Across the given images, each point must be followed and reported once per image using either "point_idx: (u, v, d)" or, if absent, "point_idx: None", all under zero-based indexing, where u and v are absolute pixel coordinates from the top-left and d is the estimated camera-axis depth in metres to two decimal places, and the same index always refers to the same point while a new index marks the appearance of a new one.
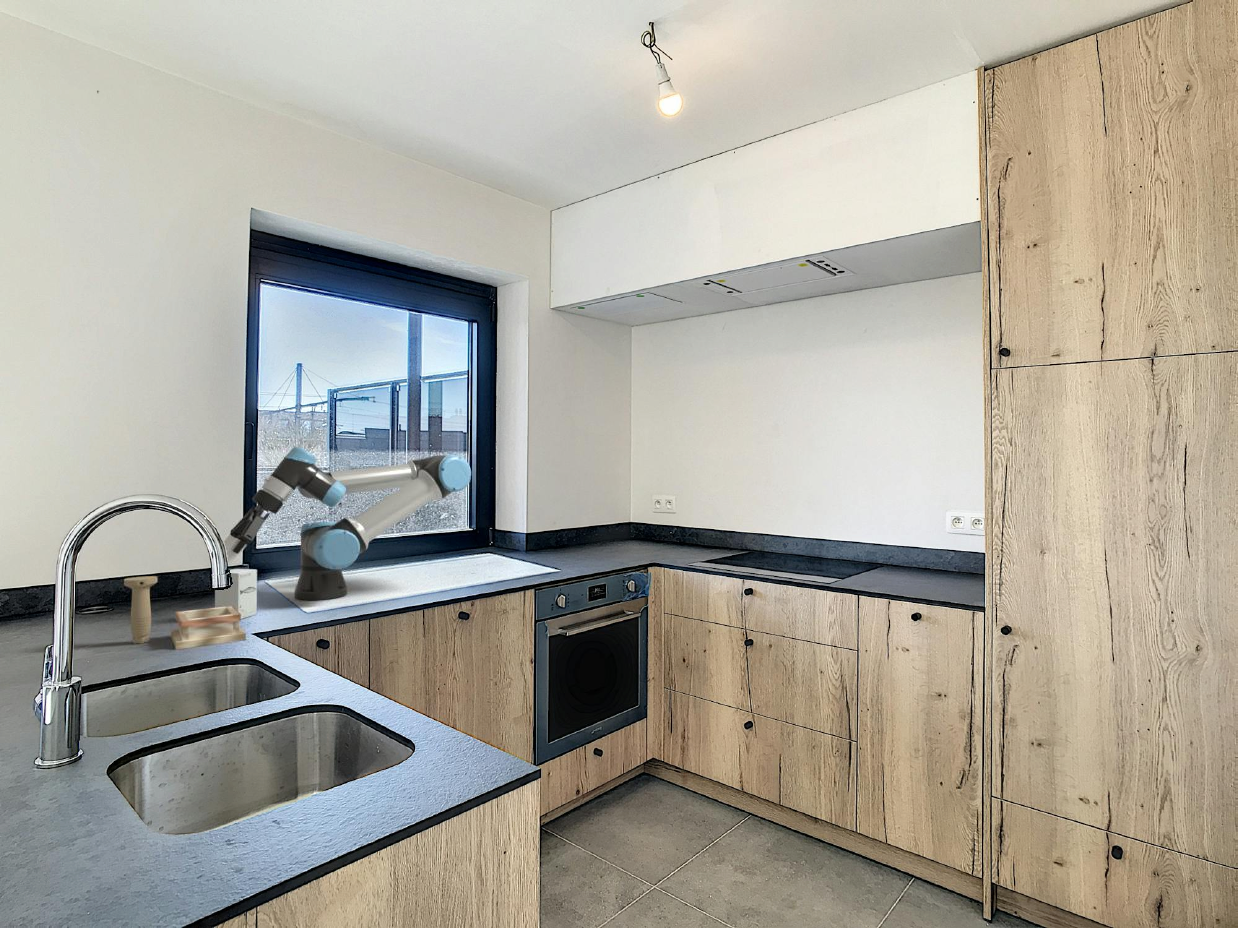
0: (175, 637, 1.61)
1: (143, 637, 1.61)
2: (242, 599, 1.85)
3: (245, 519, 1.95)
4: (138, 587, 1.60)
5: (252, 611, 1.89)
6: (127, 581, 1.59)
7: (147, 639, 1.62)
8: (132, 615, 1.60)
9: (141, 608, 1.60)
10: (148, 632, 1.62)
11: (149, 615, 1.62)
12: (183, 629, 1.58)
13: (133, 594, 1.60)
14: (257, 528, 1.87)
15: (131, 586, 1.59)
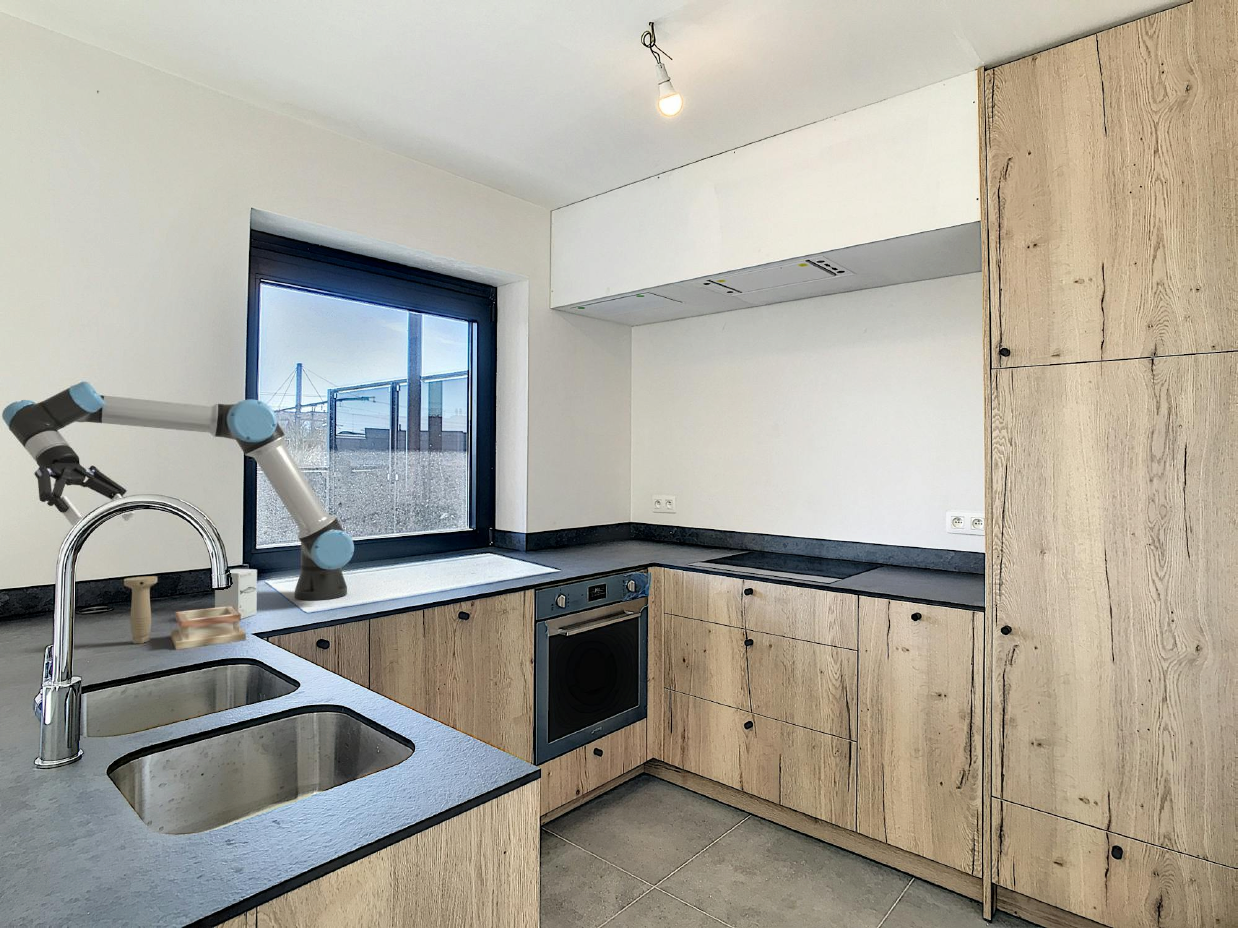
0: (175, 637, 1.61)
1: (143, 637, 1.61)
2: (242, 599, 1.85)
3: (83, 485, 1.69)
4: (138, 587, 1.60)
5: (252, 611, 1.89)
6: (127, 581, 1.59)
7: (147, 639, 1.62)
8: (132, 615, 1.60)
9: (141, 608, 1.60)
10: (148, 632, 1.62)
11: (149, 615, 1.62)
12: (183, 629, 1.58)
13: (133, 594, 1.60)
14: (43, 482, 1.57)
15: (131, 586, 1.59)
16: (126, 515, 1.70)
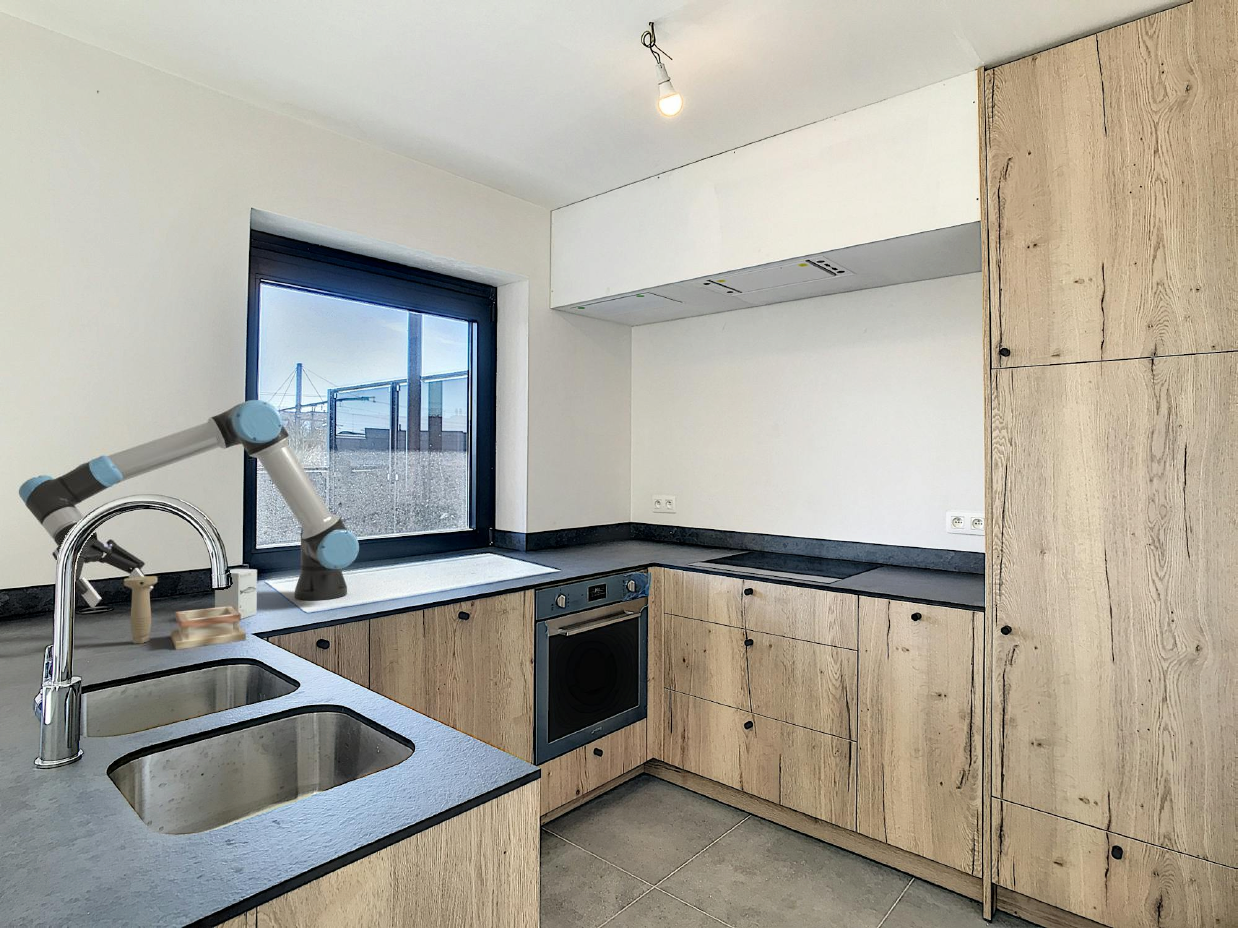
0: (175, 637, 1.61)
1: (143, 637, 1.61)
2: (242, 599, 1.85)
3: (101, 561, 1.66)
4: (138, 587, 1.60)
5: (252, 611, 1.89)
6: (127, 581, 1.59)
7: (147, 639, 1.62)
8: (132, 615, 1.60)
9: (141, 608, 1.60)
10: (148, 632, 1.62)
11: (149, 615, 1.62)
12: (183, 629, 1.58)
13: (133, 594, 1.60)
14: None
15: (131, 586, 1.59)
16: None
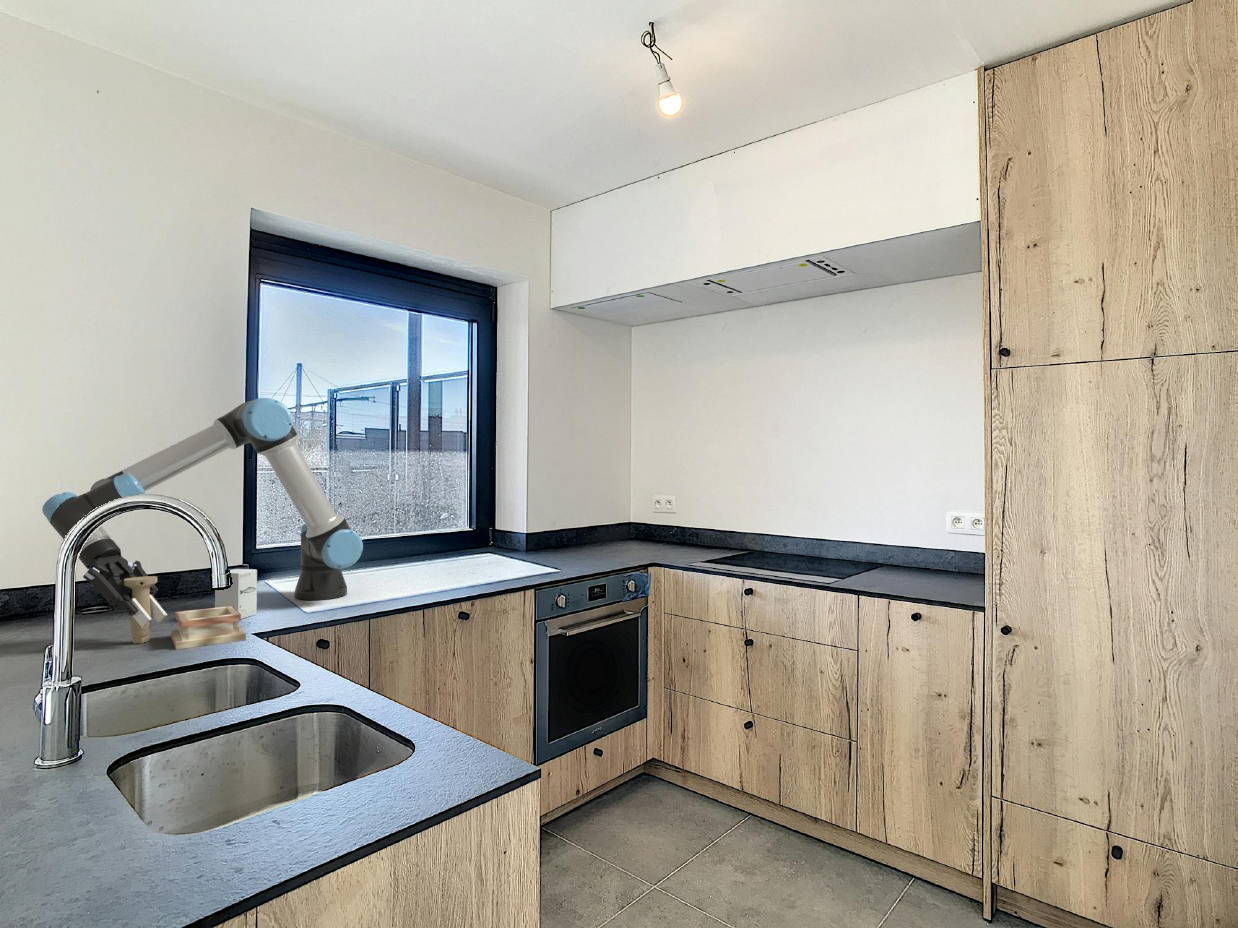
0: (175, 637, 1.61)
1: (143, 637, 1.61)
2: (242, 599, 1.85)
3: (120, 580, 1.64)
4: (138, 587, 1.60)
5: (252, 611, 1.89)
6: (127, 581, 1.59)
7: (147, 639, 1.62)
8: None
9: None
10: (148, 632, 1.62)
11: (149, 615, 1.62)
12: (183, 629, 1.58)
13: (133, 594, 1.60)
14: (104, 587, 1.57)
15: (131, 586, 1.59)
16: (159, 617, 1.63)
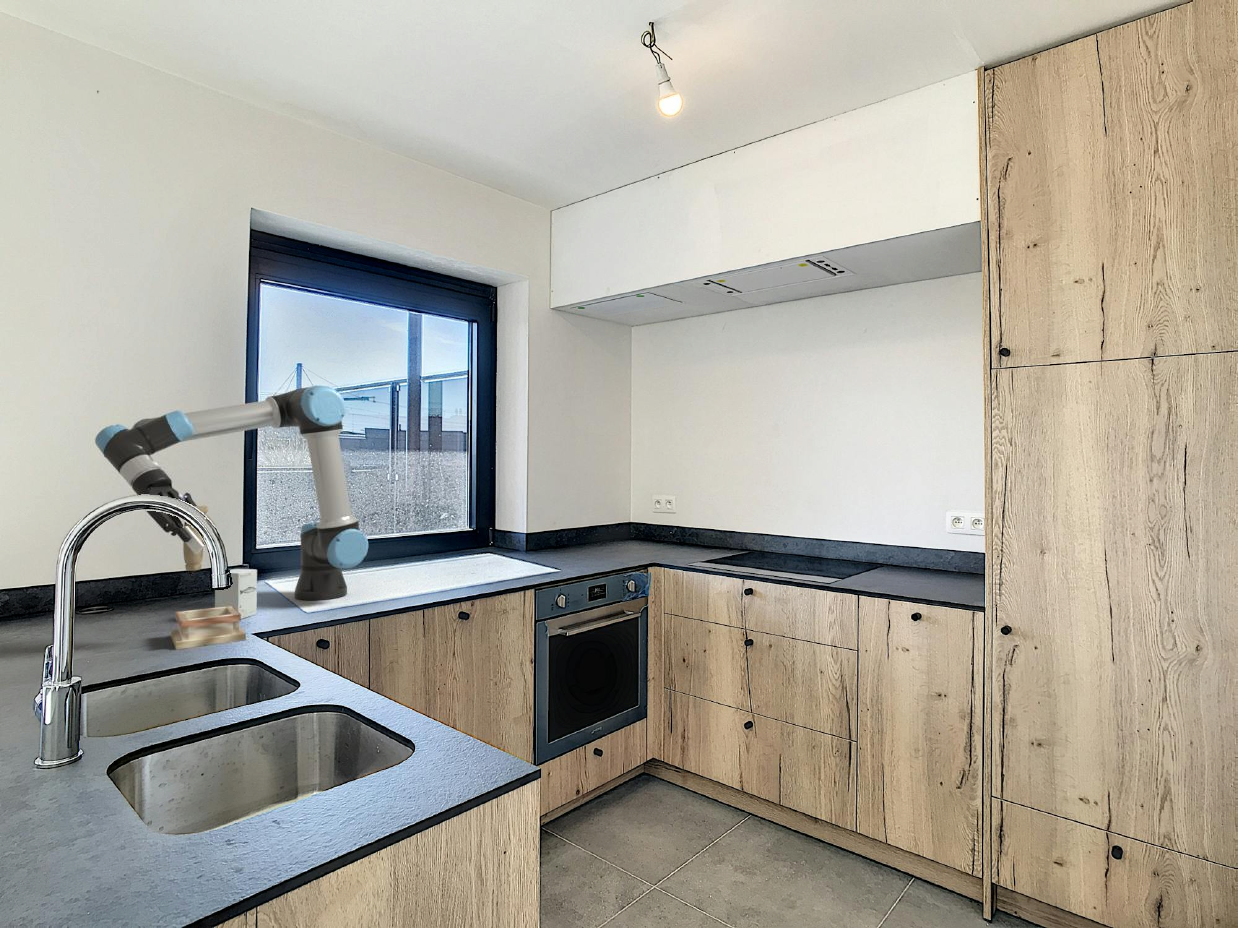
0: (175, 637, 1.61)
1: (196, 564, 1.64)
2: (242, 599, 1.85)
3: None
4: None
5: (252, 611, 1.89)
6: None
7: (199, 567, 1.65)
8: (185, 543, 1.63)
9: None
10: (200, 560, 1.65)
11: None
12: (183, 629, 1.58)
13: (185, 522, 1.63)
14: (158, 514, 1.60)
15: None
16: None
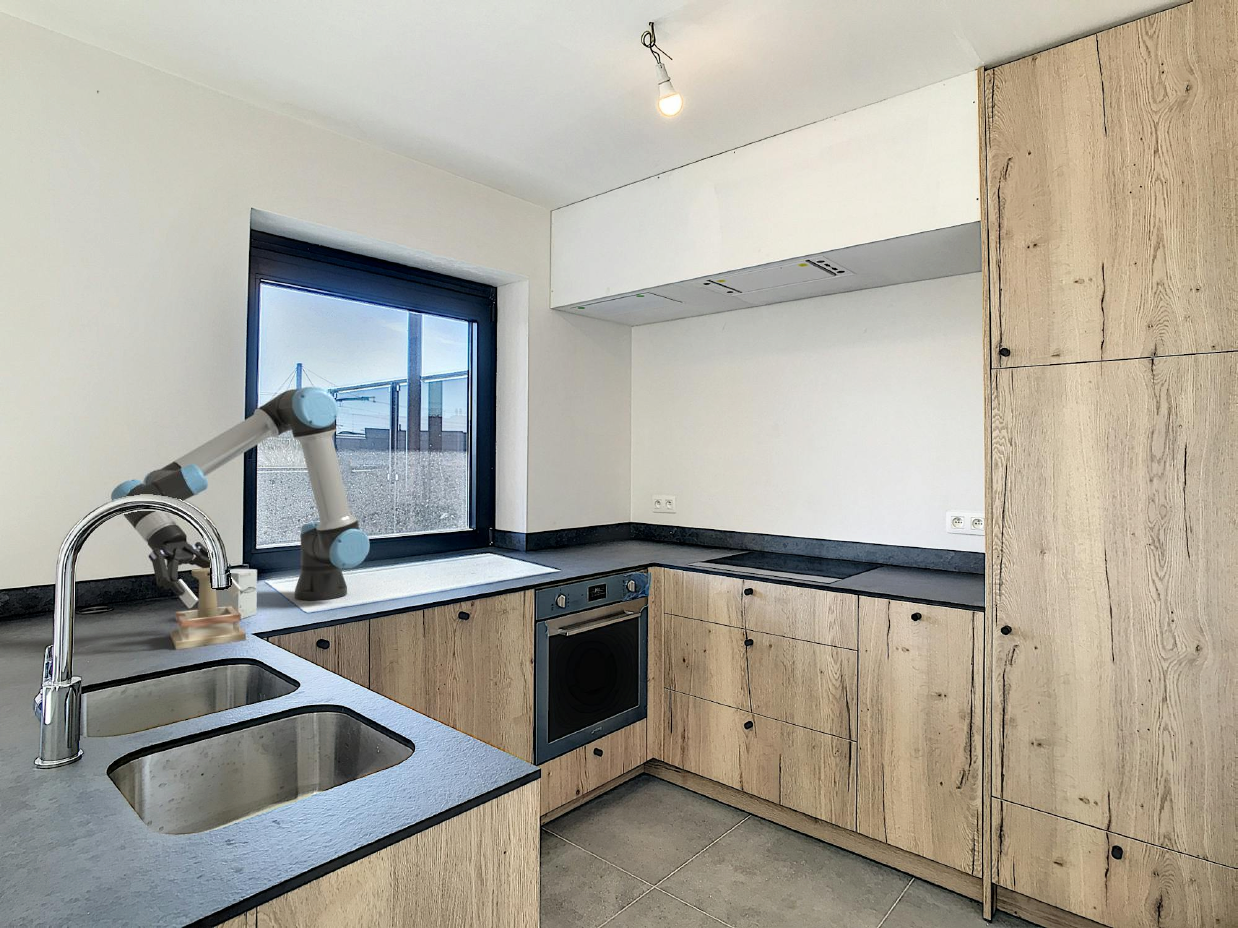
0: (175, 637, 1.61)
1: None
2: (242, 599, 1.85)
3: (191, 563, 1.70)
4: (205, 578, 1.64)
5: (252, 611, 1.89)
6: (195, 572, 1.63)
7: None
8: (200, 605, 1.64)
9: (208, 598, 1.64)
10: None
11: (215, 605, 1.66)
12: (183, 629, 1.58)
13: (200, 585, 1.64)
14: (159, 566, 1.58)
15: (199, 577, 1.63)
16: (233, 591, 1.72)
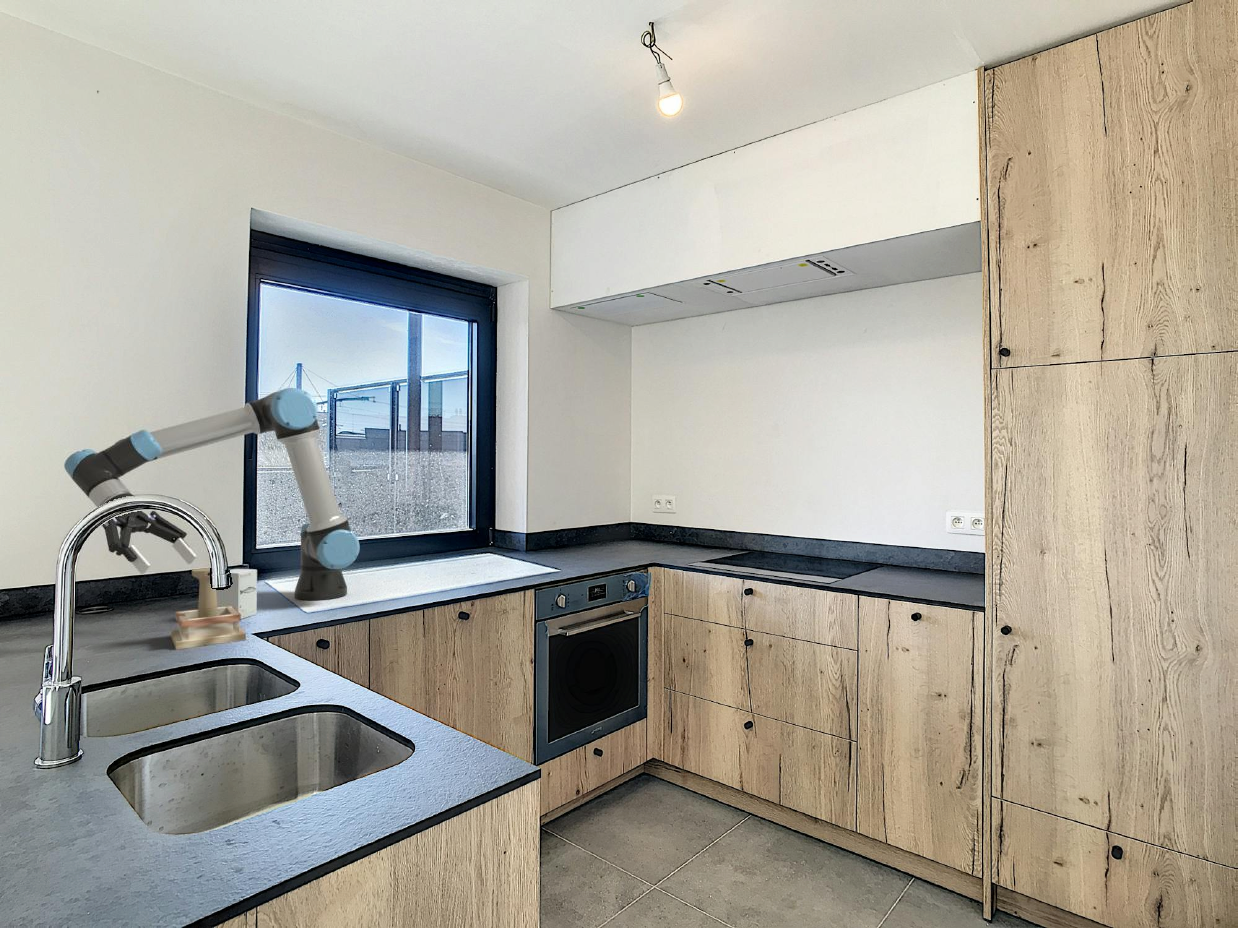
0: (175, 637, 1.61)
1: None
2: (242, 599, 1.85)
3: (146, 531, 1.72)
4: (206, 578, 1.64)
5: (252, 611, 1.89)
6: (195, 572, 1.63)
7: None
8: (200, 605, 1.64)
9: (209, 598, 1.64)
10: None
11: (216, 605, 1.66)
12: (183, 629, 1.58)
13: (201, 585, 1.64)
14: (111, 533, 1.60)
15: (199, 577, 1.63)
16: (189, 559, 1.74)
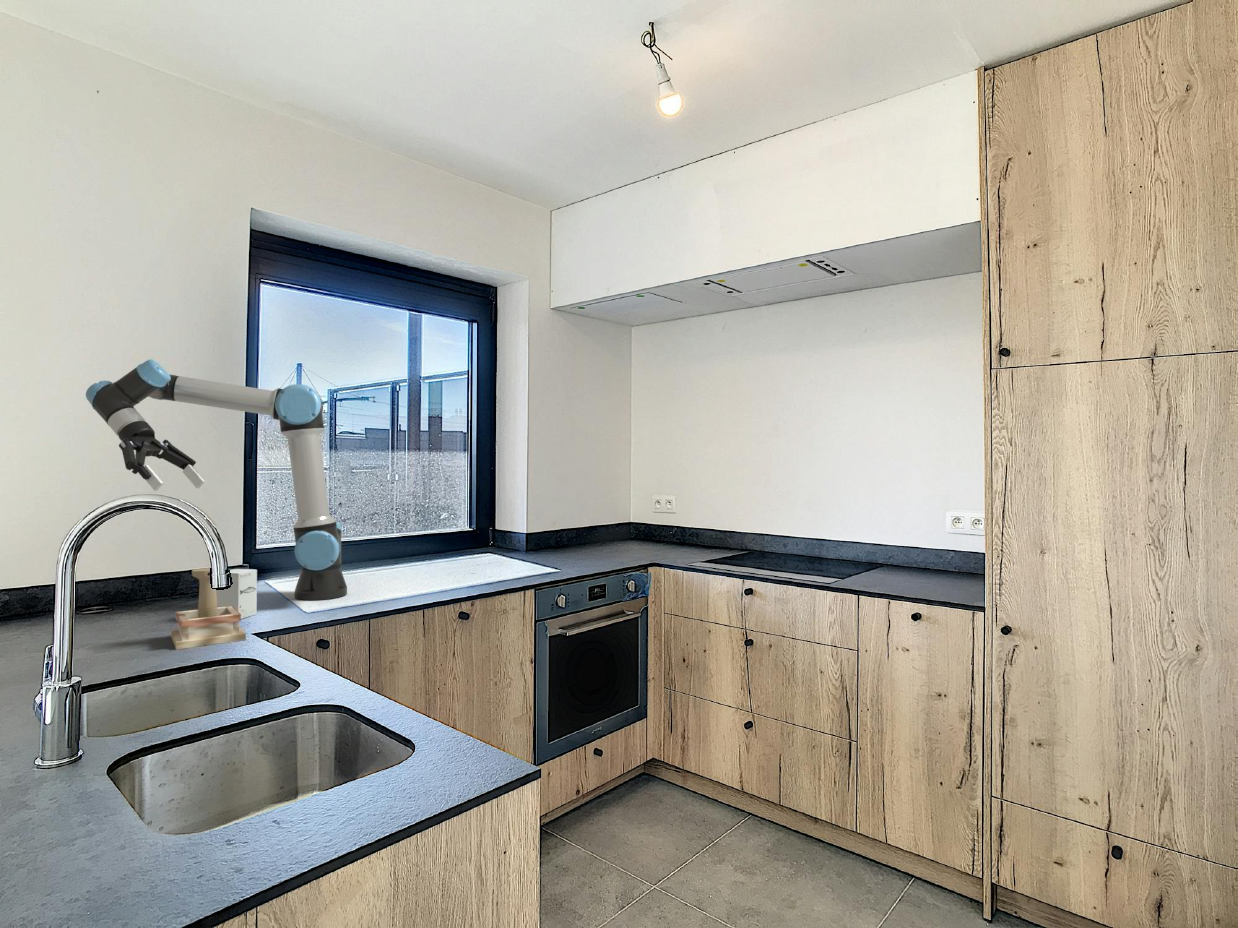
0: (175, 637, 1.61)
1: None
2: (242, 599, 1.85)
3: (159, 456, 1.87)
4: (206, 578, 1.64)
5: (252, 611, 1.89)
6: (195, 572, 1.63)
7: None
8: (200, 605, 1.64)
9: (209, 598, 1.64)
10: None
11: (216, 605, 1.66)
12: (183, 629, 1.58)
13: (201, 585, 1.64)
14: (128, 453, 1.76)
15: (199, 577, 1.63)
16: (197, 483, 1.89)
